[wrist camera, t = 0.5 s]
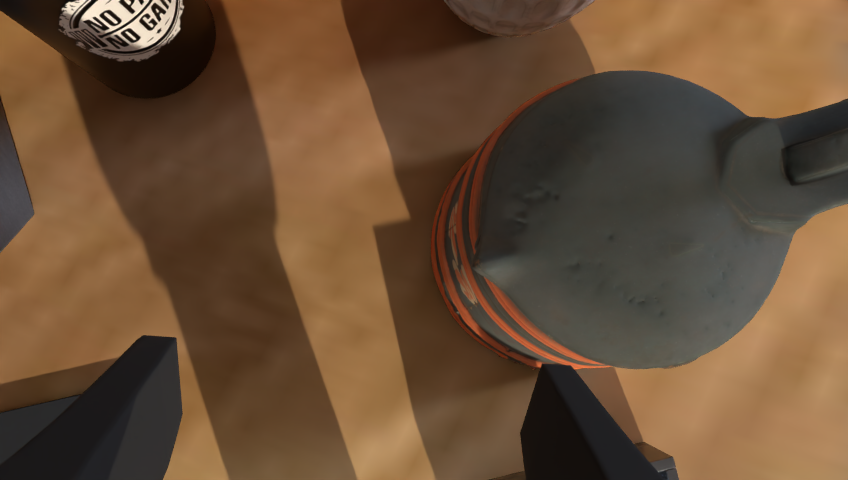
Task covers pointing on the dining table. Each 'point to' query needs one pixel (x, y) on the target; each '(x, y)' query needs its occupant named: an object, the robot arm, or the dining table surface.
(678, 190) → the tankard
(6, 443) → the mat
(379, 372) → the dining table surface
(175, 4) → the water bottle
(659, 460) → the dark grey tray
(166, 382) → the robot arm
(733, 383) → the dining table surface
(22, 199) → the planter
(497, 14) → the vase
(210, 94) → the dining table surface
